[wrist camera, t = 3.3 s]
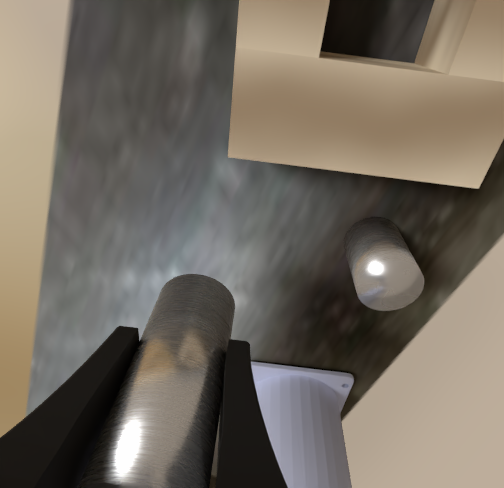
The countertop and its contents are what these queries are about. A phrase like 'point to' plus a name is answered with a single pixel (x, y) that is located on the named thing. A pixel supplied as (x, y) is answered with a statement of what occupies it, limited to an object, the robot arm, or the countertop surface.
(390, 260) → the short steel pin
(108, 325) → the countertop surface
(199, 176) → the countertop surface
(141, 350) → the long steel pin
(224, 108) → the countertop surface
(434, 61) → the birch board
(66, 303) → the countertop surface
